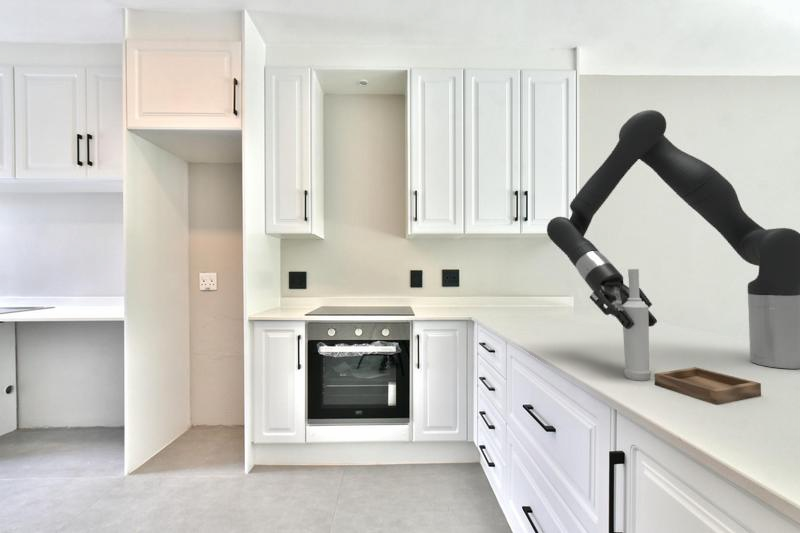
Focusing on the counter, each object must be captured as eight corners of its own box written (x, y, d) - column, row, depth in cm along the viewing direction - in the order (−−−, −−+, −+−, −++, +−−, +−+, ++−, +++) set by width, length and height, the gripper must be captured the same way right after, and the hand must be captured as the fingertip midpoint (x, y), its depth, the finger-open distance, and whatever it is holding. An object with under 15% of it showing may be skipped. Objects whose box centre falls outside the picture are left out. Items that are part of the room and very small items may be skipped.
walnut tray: (695, 377, 82) (695, 367, 82) (761, 395, 70) (760, 383, 70) (654, 384, 78) (654, 373, 78) (716, 404, 67) (716, 391, 67)
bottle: (655, 381, 80) (651, 269, 80) (629, 380, 82) (625, 269, 81) (644, 374, 86) (640, 268, 85) (620, 373, 87) (616, 269, 86)
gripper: (582, 263, 89) (627, 318, 77) (629, 261, 93) (677, 312, 81) (567, 284, 94) (607, 338, 82) (612, 281, 98) (656, 332, 86)
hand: (642, 325), depth 82 cm, fingers open, 6 cm apart
